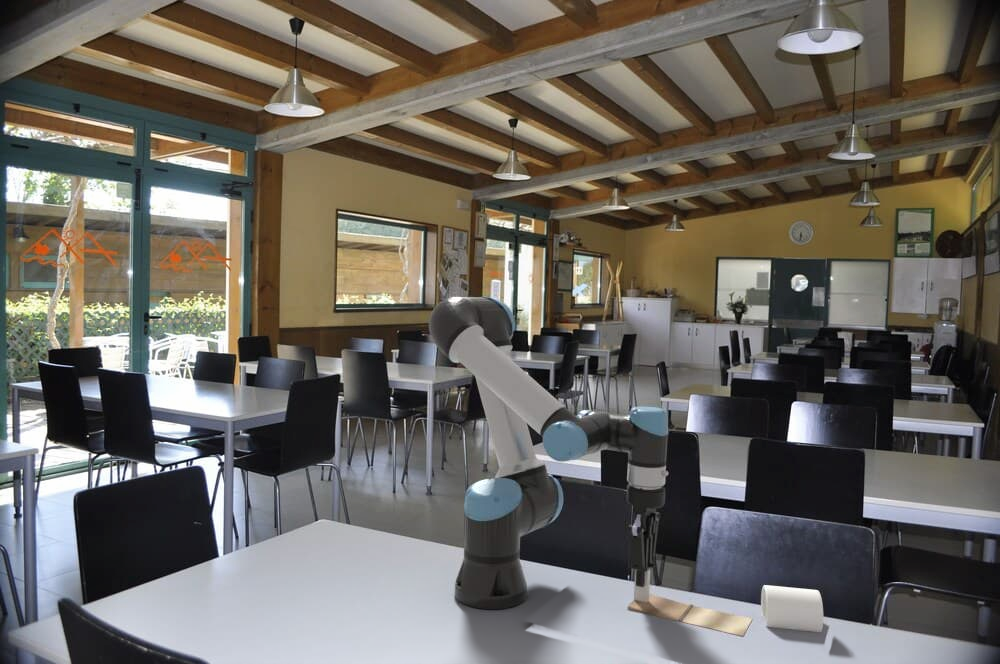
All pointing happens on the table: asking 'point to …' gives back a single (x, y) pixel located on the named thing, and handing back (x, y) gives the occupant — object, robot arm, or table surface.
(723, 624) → the floorboard
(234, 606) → the table surface
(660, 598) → the plank
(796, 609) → the mug
